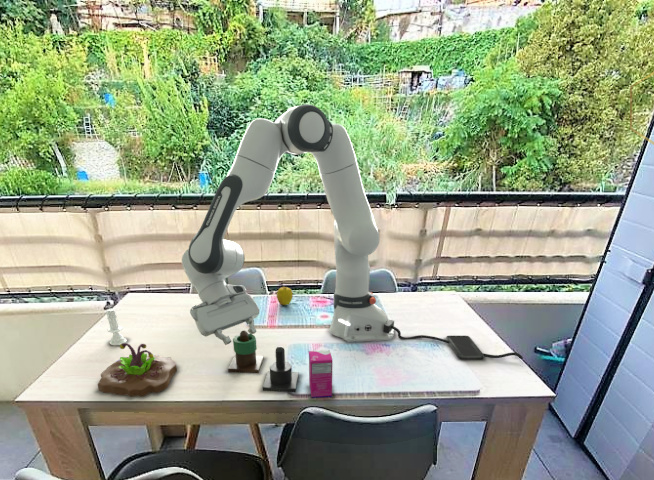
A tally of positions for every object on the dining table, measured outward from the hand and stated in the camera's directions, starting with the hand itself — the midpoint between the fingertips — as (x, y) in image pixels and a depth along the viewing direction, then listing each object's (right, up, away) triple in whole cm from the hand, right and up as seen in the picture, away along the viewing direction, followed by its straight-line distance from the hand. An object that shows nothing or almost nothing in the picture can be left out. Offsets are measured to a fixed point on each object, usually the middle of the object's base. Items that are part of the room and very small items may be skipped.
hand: (241, 338), depth 122 cm
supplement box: (+23, -16, -9) cm, 29 cm away
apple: (+10, +18, +47) cm, 51 cm away
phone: (+70, -2, +13) cm, 72 cm away
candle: (-44, 0, +17) cm, 47 cm away
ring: (+1, -3, +1) cm, 3 cm away
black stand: (+12, -13, -5) cm, 18 cm away
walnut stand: (+1, -8, +4) cm, 9 cm away
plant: (-29, -12, -3) cm, 31 cm away
